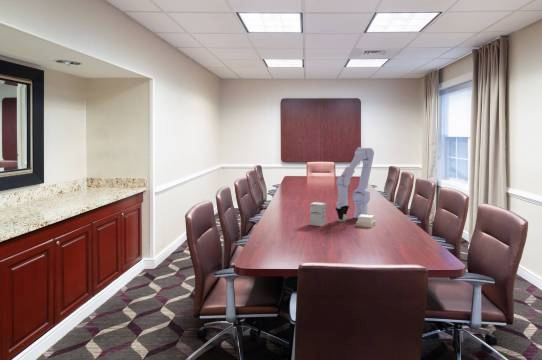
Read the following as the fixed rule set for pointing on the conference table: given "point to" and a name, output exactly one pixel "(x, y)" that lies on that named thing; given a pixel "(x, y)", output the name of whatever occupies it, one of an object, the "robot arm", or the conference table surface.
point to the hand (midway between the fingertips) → (342, 218)
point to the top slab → (366, 218)
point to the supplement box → (317, 214)
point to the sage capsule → (343, 218)
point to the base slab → (366, 224)
